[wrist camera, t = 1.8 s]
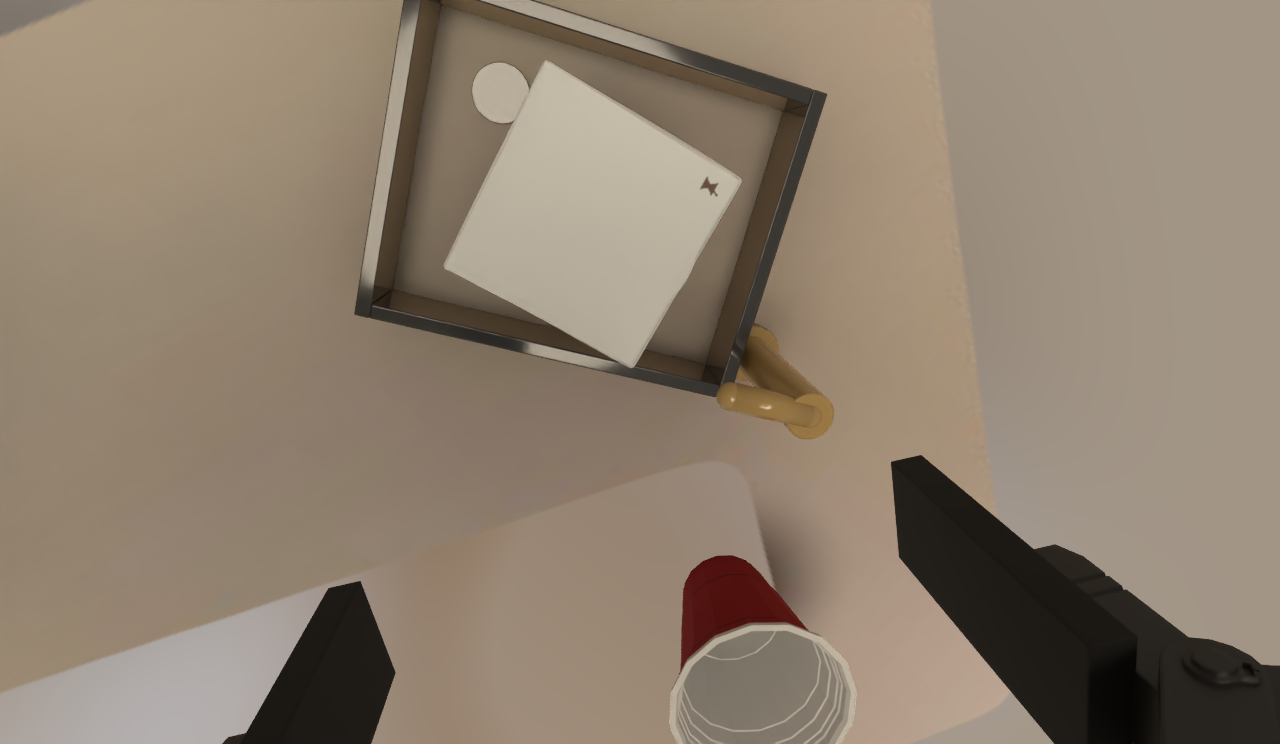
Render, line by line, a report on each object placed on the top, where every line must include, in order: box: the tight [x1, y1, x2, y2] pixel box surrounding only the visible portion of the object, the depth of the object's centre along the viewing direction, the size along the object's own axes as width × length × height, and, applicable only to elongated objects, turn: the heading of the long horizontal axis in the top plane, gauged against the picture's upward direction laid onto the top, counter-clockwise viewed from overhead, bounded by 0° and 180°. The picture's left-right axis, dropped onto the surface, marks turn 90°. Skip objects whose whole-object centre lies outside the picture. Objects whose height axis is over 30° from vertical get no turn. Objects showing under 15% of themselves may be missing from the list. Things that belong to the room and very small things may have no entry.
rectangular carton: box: [443, 60, 742, 368], centre depth 33 cm, size 9×9×15 cm
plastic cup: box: [669, 556, 857, 744], centre depth 43 cm, size 11×11×12 cm
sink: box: [354, 0, 834, 439], centre depth 35 cm, size 25×18×12 cm
